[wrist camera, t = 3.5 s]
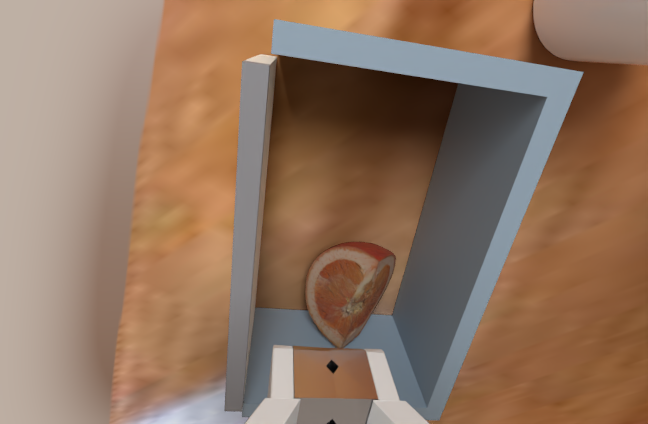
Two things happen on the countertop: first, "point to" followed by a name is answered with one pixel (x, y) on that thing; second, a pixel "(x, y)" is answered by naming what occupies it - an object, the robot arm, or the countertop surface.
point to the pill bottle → (594, 30)
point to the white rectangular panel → (248, 216)
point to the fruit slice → (347, 288)
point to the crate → (437, 208)
